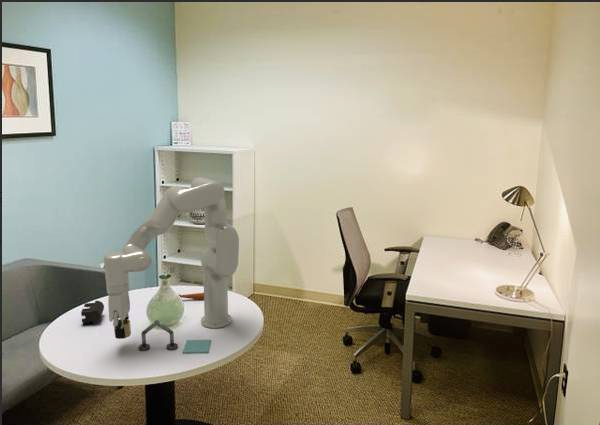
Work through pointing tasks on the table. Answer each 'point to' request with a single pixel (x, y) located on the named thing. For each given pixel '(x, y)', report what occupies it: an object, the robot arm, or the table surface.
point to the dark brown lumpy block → (92, 313)
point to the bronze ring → (126, 328)
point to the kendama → (193, 296)
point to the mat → (196, 346)
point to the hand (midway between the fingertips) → (122, 333)
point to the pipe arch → (172, 345)
